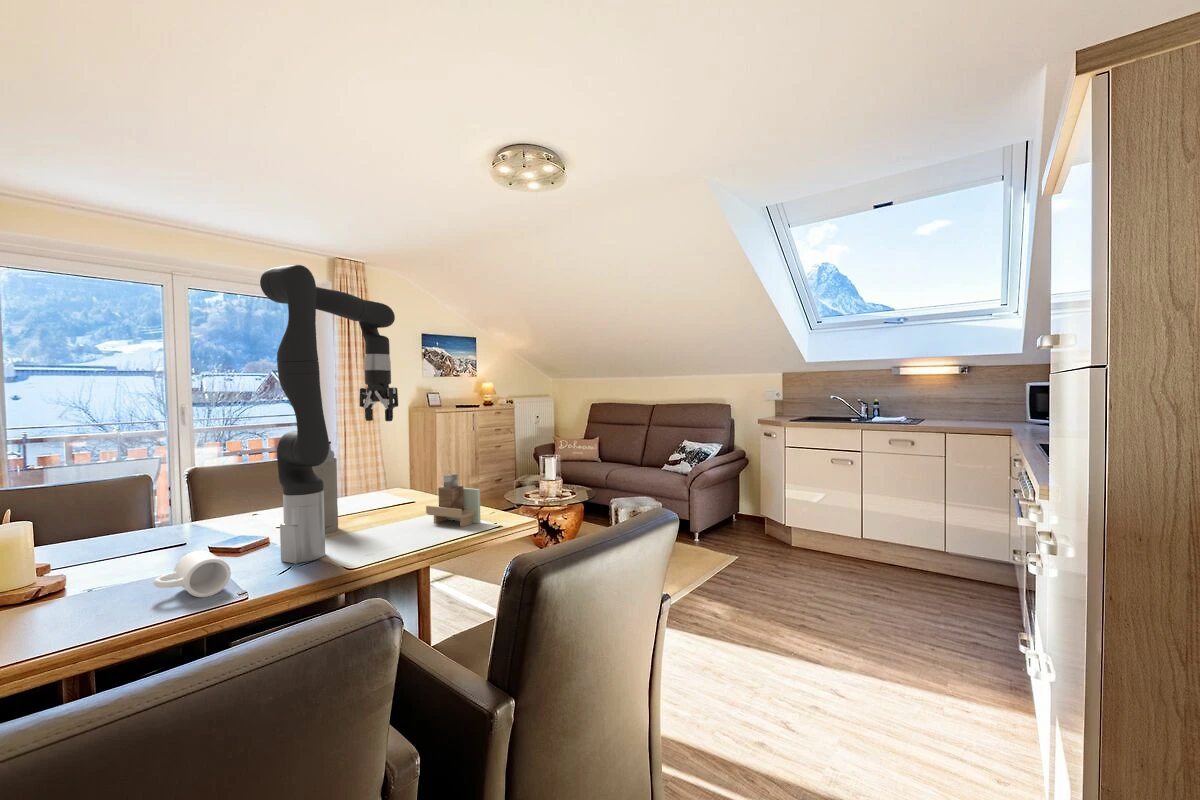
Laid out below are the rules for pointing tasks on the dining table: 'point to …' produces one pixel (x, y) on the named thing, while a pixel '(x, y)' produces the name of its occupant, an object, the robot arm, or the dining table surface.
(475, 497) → the small display stand
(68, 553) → the dining table surface
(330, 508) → the thermos bottle
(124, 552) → the dining table surface
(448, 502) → the brown box
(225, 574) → the mug
